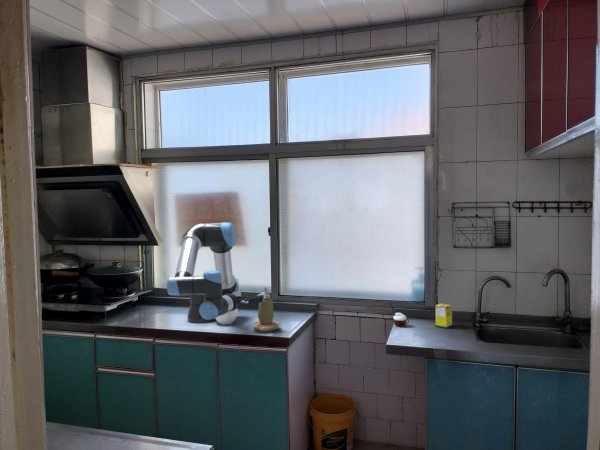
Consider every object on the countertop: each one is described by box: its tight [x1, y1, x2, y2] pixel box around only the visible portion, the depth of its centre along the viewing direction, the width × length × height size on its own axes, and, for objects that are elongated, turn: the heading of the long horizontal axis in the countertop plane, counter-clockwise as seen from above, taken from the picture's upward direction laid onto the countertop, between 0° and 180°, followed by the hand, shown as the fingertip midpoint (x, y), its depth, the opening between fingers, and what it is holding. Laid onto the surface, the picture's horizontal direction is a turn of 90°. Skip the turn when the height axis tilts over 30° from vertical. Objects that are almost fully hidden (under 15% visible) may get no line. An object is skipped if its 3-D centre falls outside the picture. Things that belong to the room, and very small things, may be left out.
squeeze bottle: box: [257, 287, 275, 325], centre depth 226 cm, size 8×8×18 cm
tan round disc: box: [252, 320, 280, 333], centre depth 227 cm, size 13×13×3 cm
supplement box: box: [434, 303, 453, 329], centre depth 227 cm, size 6×6×11 cm
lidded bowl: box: [215, 306, 239, 326], centre depth 242 cm, size 13×13×11 cm
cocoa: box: [389, 302, 410, 328], centre depth 230 cm, size 10×6×12 cm, turn 68°
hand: (252, 293), depth 217 cm, fingers open, 13 cm apart
